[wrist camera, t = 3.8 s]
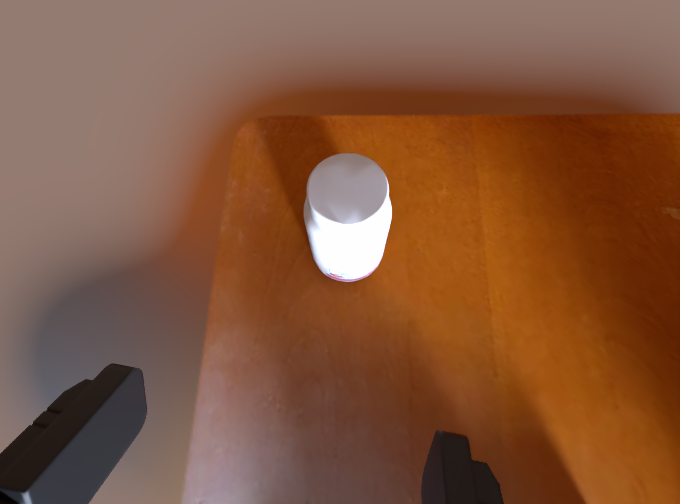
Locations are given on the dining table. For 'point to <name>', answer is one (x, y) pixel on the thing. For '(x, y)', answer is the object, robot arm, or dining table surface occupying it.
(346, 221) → the pill bottle
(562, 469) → the dining table surface
